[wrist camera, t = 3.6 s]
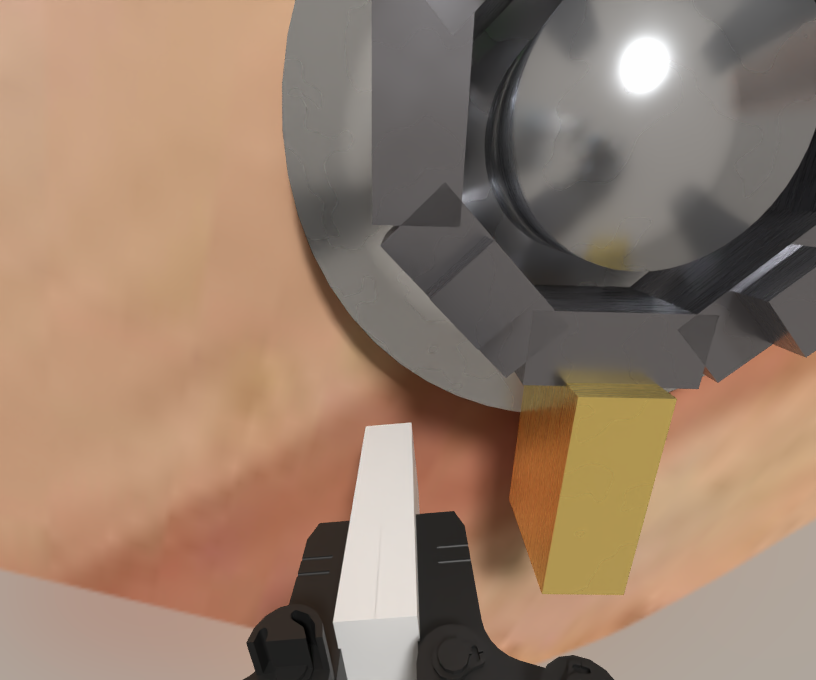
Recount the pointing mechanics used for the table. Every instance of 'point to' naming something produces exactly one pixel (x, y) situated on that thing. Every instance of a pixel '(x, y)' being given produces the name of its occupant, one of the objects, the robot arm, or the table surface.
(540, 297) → the grey ring yellow handle
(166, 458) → the table surface
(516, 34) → the housing
